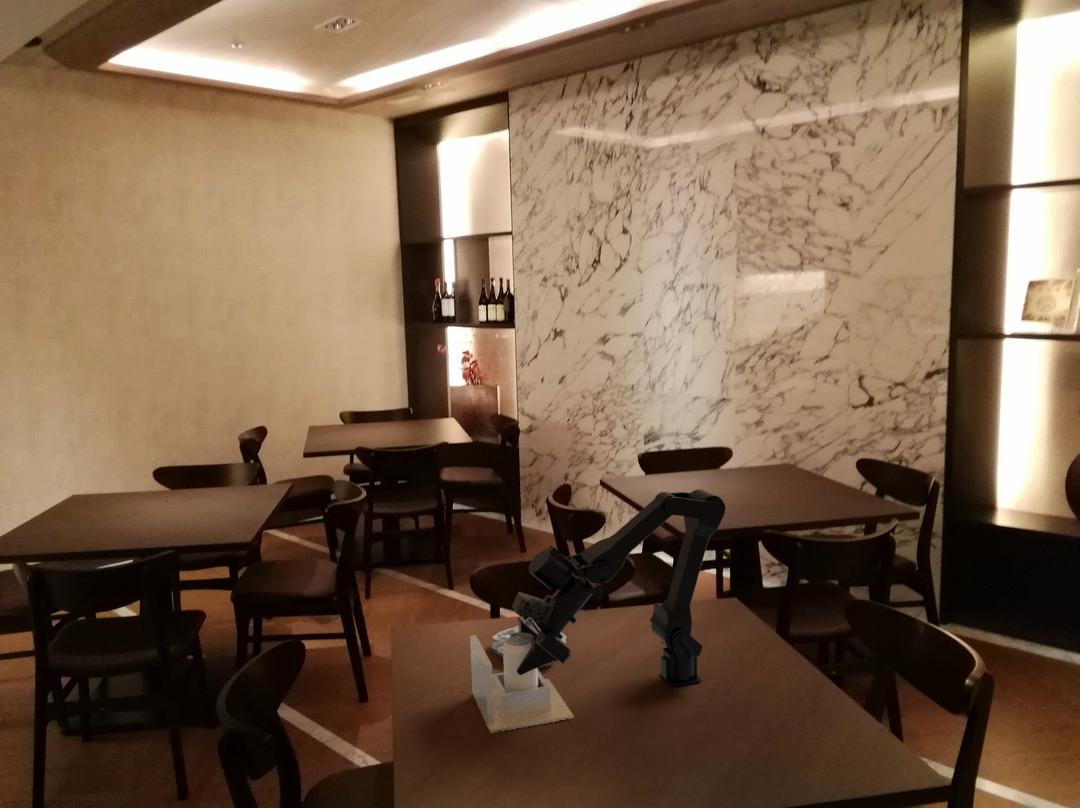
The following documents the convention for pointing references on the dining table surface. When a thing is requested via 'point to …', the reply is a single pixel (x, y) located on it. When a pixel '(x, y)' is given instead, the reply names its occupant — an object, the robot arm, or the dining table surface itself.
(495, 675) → the cup bracket
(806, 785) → the dining table surface
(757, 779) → the dining table surface
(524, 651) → the can
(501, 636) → the brain slice
